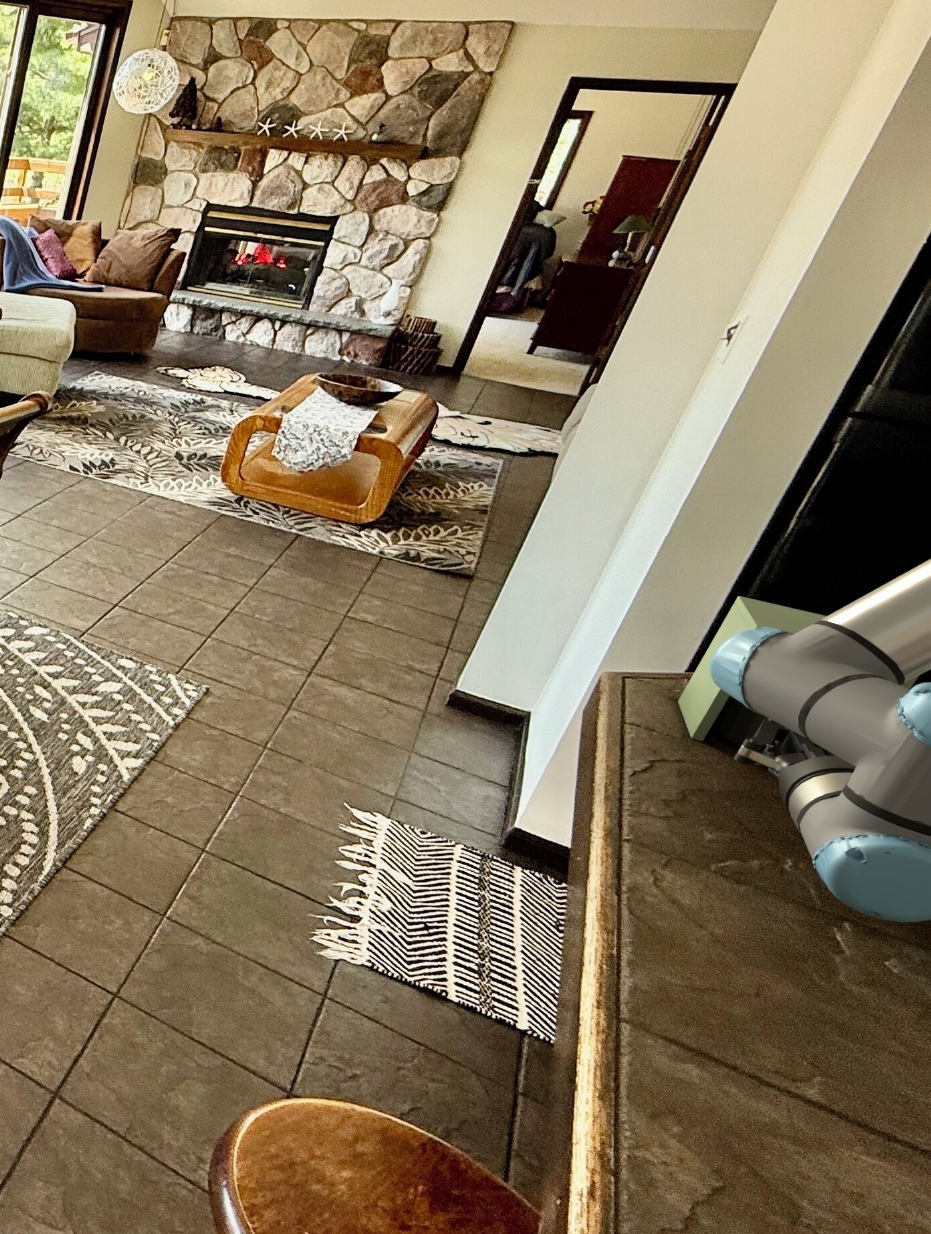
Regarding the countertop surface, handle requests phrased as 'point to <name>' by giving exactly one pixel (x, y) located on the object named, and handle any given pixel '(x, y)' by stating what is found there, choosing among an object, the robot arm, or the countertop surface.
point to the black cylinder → (741, 724)
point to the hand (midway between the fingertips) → (791, 714)
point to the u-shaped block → (746, 614)
